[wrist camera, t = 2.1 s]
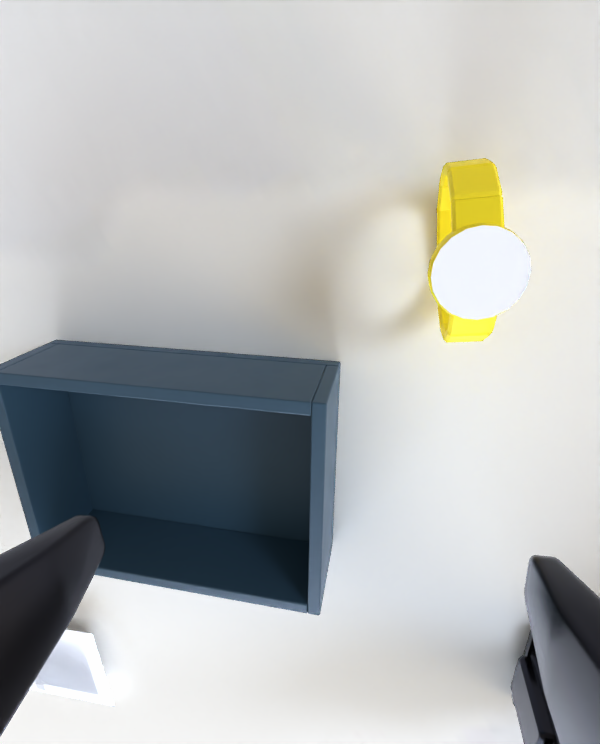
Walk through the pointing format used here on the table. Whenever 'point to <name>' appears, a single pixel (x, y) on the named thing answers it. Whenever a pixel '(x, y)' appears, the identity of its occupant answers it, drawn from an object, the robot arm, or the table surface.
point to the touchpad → (75, 670)
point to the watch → (474, 253)
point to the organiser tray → (182, 463)
